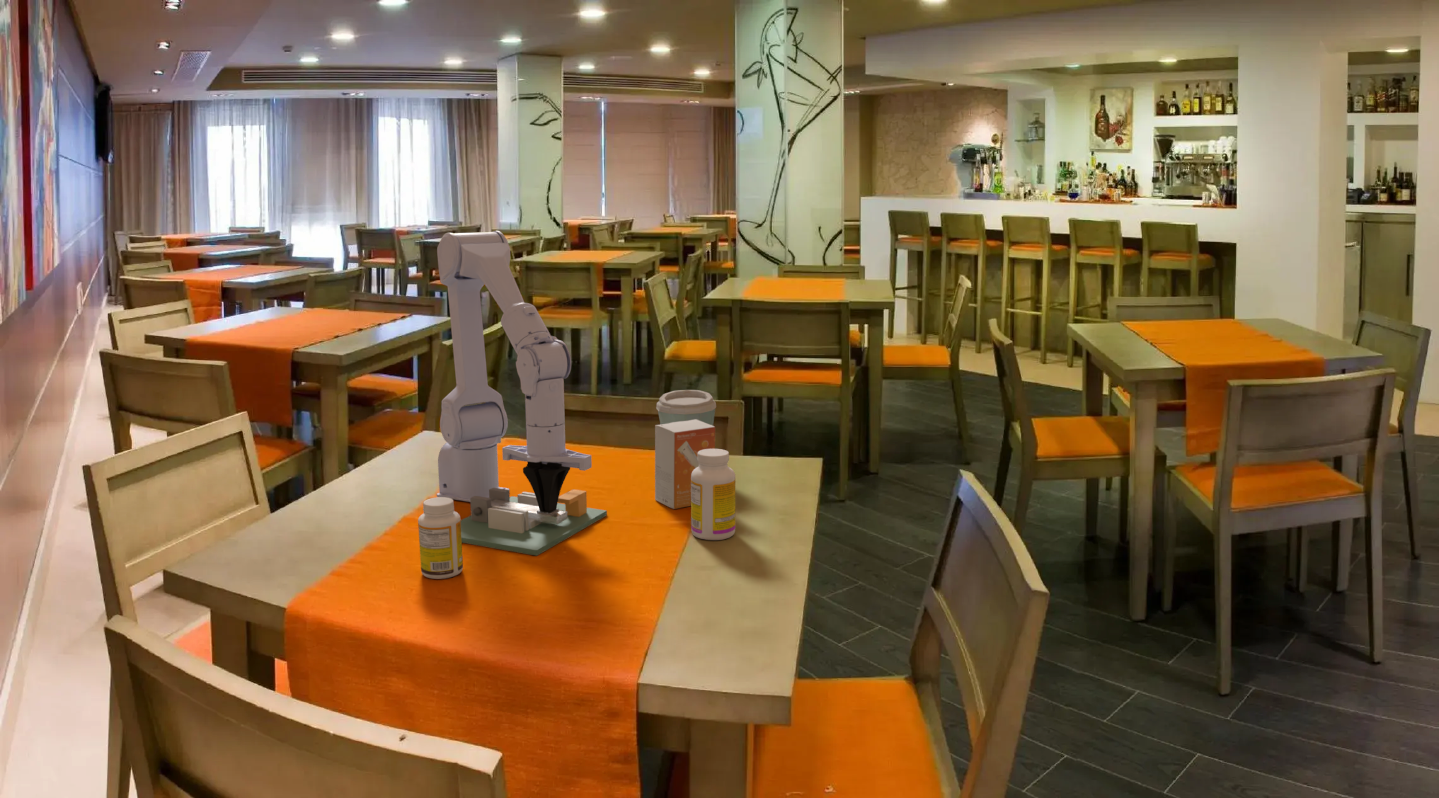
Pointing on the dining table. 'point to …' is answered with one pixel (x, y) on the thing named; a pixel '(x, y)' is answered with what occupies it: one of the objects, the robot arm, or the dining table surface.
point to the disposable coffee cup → (686, 406)
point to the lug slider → (574, 502)
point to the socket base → (518, 524)
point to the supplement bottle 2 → (713, 496)
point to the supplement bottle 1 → (440, 539)
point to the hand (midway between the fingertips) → (548, 510)
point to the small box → (679, 459)
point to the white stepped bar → (534, 512)
